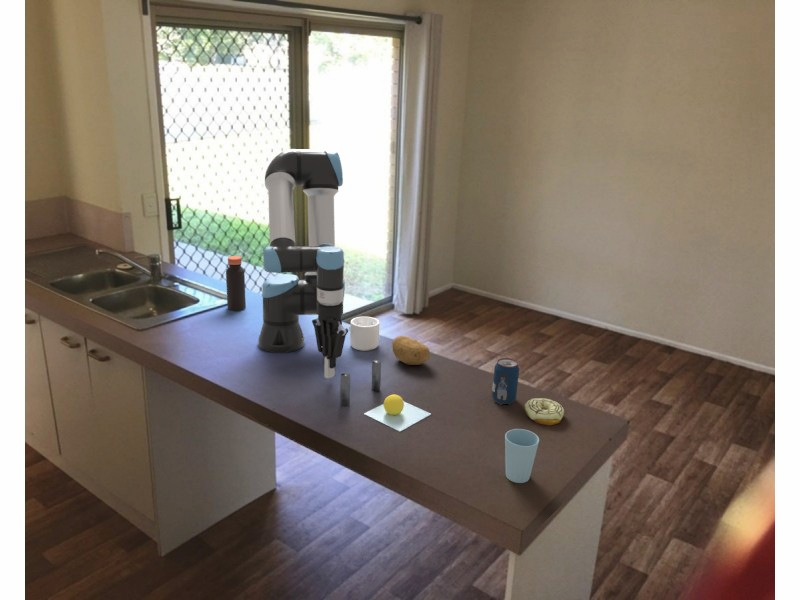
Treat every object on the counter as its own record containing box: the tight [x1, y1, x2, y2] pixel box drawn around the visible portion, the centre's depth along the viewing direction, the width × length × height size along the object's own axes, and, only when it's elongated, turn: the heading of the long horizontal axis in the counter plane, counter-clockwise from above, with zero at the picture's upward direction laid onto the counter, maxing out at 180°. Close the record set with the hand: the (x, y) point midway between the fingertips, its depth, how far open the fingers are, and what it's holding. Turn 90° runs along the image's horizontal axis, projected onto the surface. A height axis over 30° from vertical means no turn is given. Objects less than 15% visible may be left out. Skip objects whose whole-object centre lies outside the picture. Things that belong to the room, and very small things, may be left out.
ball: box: [383, 393, 405, 415], centre depth 177 cm, size 6×6×6 cm
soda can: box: [491, 357, 520, 405], centre depth 186 cm, size 7×7×12 cm
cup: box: [504, 428, 540, 484], centre depth 151 cm, size 8×8×10 cm
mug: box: [348, 316, 381, 352], centre depth 220 cm, size 12×10×9 cm
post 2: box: [370, 359, 382, 393], centre depth 189 cm, size 3×3×9 cm
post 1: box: [339, 372, 351, 408], centre depth 180 cm, size 3×3×9 cm
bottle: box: [225, 255, 247, 312], centre depth 247 cm, size 7×7×20 cm
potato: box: [391, 335, 431, 366], centre depth 208 cm, size 10×14×8 cm
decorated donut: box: [524, 397, 565, 426], centre depth 180 cm, size 10×11×4 cm
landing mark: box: [363, 400, 432, 433], centre depth 178 cm, size 13×13×1 cm
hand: (329, 376), depth 193 cm, fingers closed
